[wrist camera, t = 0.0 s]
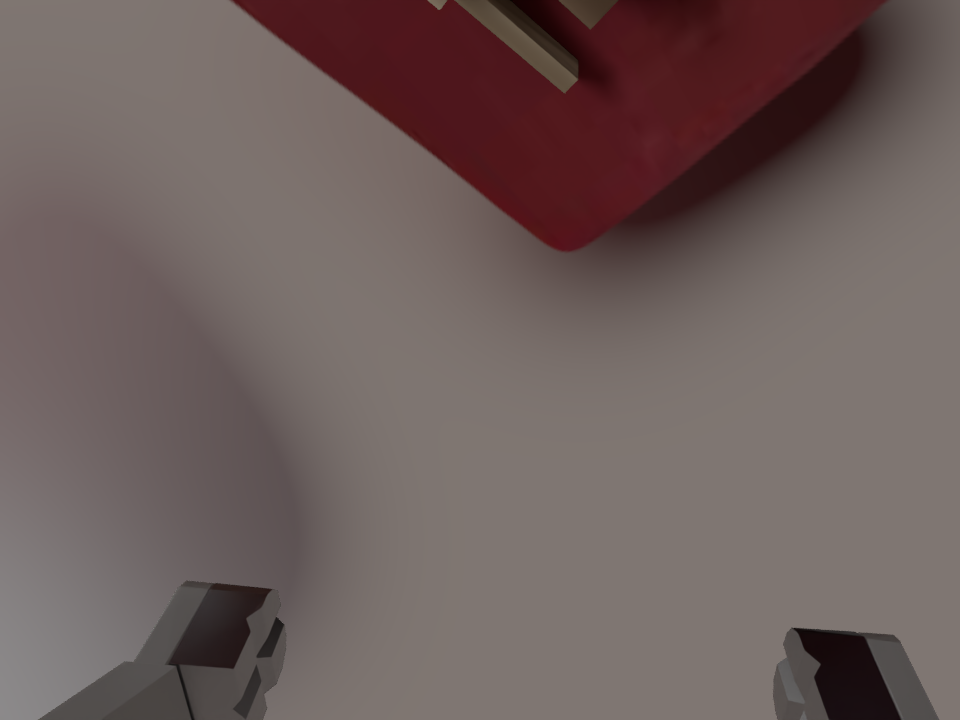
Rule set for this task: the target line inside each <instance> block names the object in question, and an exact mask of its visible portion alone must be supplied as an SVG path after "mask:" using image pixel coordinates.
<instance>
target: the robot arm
mask: <svg viewBox="0 0 960 720" xmlns="http://www.w3.org/2000/svg"><path fill="white" fill-rule="evenodd" d="M280 606H281V603H280V598H279V594H278V591H277V590H274V589H267V588H258V587H249V586H239V585H228V584H220V583H206V582H195V581H186V582H184V583H183V584H182V585H181V586H180V587H179V588H178V589H177V590H176V592H175V594H174V595H173V597H172V599H171V600H170V602H169V604H168V605H167V607H166V609H165V610H164V612H163V614H162V616H161V617H160V619H159V620H158V622H157V624H156V625H155V627H154V629H153V630H152V632H151V634H150V635H149V637H148V639H147V640H146V642H145V644H144V645H143V647H142V649H141V650H140V652H139V654H138V655H137V657H136V659H135V660H134V662H123V663H122V664H120V665H119V666H117V667H116V668H114V669H113V670H111V671H110V672H108V673H107V674H105V675H104V676H102V677H101V678H99V679H98V680H97V681H95V682H94V683H92V684H91V685H89V686H88V687H86V688H85V689H83V690H82V691H81V692H79V693H77V694H76V695H74V696H73V697H71V698H70V699H68V700H67V701H65V702H64V703H62V704H61V705H59V706H58V707H56V708H55V709H53V710H52V711H51V712H49V713H48V714H46V715H45V716H43V717H42V718H40V719H39V720H263V718H264V715H265V712H266V710H267V706H266V702H265V697H264V694H265V693H266V692H267V691H268V690H269V689H271V688H272V687H273V686H274V685H276V684H277V681H278V678H279V675H280V673H281V670H282V667H283V661H284V656H285V651H286V632H285V625H284V624H283V623H282V622H281V621H280V620H279V619H278V618H277V617H276V616H277V614H278V611H279V609H280ZM783 645H784V648H785V651H786V655H787V658H785V659H784V660H783V661H781V662H780V663H778V664H777V668H776V672H775V676H774V690H773V697H774V705H775V711H776V715H777V719H778V720H939V719H938V716H937V715H936V713H935V710H934V708H933V706H932V704H931V702H930V700H929V698H928V697H927V695H926V693H925V690H924V688H923V687H922V684H921V682H920V680H919V678H918V676H917V674H916V672H915V670H914V668H913V666H912V664H911V662H910V661H909V658H908V656H907V654H906V652H905V651H904V648H903V646H902V644H901V642H900V641H899V640H898V639H897V638H896V637H895V636H894V635H888V634H873V633H860V632H859V633H856V632H851V631H835V630H819V629H804V628H791V629H790V630H789V631H788V632H787V634H786V637H785V641H784V644H783Z"/></svg>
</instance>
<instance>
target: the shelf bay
mask: <svg viewBox="0 0 960 720" xmlns="http://www.w3.org/2000/svg"><path fill="white" fill-rule="evenodd" d="M428 1H429V2H430V3H431V4H433V5H434V6H435V7H436V8H437V9H439V10H440V9H441V8H442V6H443V5H444V4H445V3H446V1H447V0H428ZM455 1H456V2H457V3H459V4H460V5H461V6H462V7H463V8H464V9H466V10H467V11H468V12H469V13H470V14H472V15H473V16H474V17H475V18H476V19H477V20H479V21H480V22H481V23H482V24H483V25H485V26H486V27H487V28H488V29H489V30H490V31H492V32H493V33H494V34H495V35H496V36H497V37H499V38H500V39H501V40H502V41H503V42H505V43H506V44H507V45H508V46H509V47H510V48H512V49H513V50H514V51H515V52H516V53H518V54H519V55H520V56H521V57H522V58H523V59H525V60H526V61H527V62H528V63H529V64H530V65H532V66H533V67H534V68H535V69H536V70H538V71H539V72H540V73H541V74H542V75H543V76H545V77H546V78H547V79H548V80H549V81H551V82H552V83H553V84H554V85H555V86H556V87H558V88H559V89H560V90H561V91H562V92H563V93H565V92H566V91H567V90H568V89H569V88H570V87H571V86H572V85H573V84H574V83H575V82H576V81H577V80H578V60H577V59H576V58H575V57H574V56H573V55H571V54H570V53H569V52H568V51H567V50H566V49H565V48H564V47H562V46H561V45H560V44H559V43H558V42H557V41H556V40H554V39H553V38H552V37H551V36H550V35H549V34H548V33H547V32H545V31H544V30H543V29H542V28H541V27H540V26H539V25H537V24H536V23H535V22H534V21H533V20H532V19H531V18H530V17H528V16H527V15H526V14H525V13H524V12H523V11H522V10H520V9H519V8H518V7H517V6H516V5H515V4H514V3H513V2H511V1H510V0H455Z"/></svg>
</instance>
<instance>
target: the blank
mask: <svg viewBox="0 0 960 720" xmlns="http://www.w3.org/2000/svg"><path fill="white" fill-rule="evenodd" d="M559 1H560V2H561V3H562V4H563V5H564V6H565V7H566V8H568V9H569V10H570V11H571V12H572V13H573V14H574V15H575V16H576V17H577V18H578V19H580V20H581V21H582V22H583V23H584V24H585V25H586V26H587V27H588V28H589V29H591V28H592V27H593V26H594V25H595V24H596V23H597V22H598V21H599V20H600V19H601V18H602V17H603V16H604V15H605V14H606V13H607V11H608V10H609V9H610V8H611V7H612V6H613V5H614V4H615V3H616V2H617V1H618V0H559Z"/></svg>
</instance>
